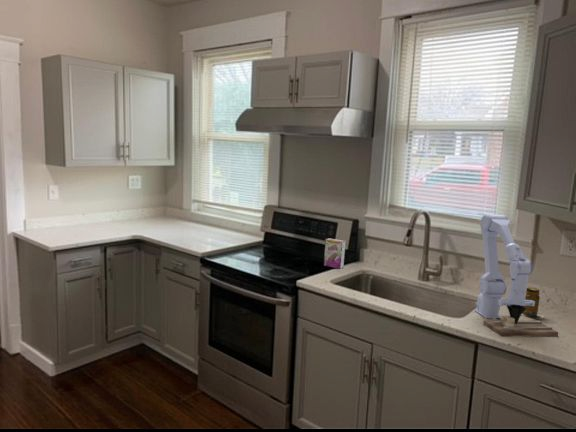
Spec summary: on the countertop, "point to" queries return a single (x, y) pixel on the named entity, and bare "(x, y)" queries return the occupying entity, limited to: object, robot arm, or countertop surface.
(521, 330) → the console
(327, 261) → the candy bar box
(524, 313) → the condiment
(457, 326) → the countertop surface
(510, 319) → the fader tab
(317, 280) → the countertop surface
